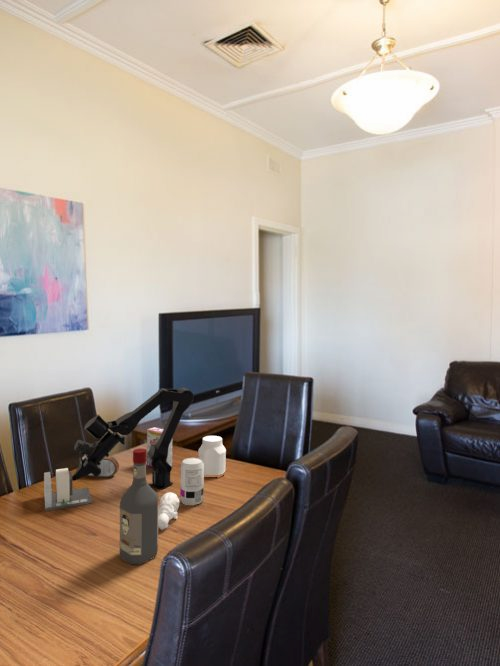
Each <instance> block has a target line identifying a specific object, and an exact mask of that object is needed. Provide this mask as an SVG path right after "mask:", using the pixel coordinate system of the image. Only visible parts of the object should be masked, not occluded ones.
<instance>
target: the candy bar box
mask: <svg viewBox="0 0 500 666" xmlns="http://www.w3.org/2000/svg"><path fill="white" fill-rule="evenodd" d="M163 429H164V428H160V427H155V426H154V427H150V428H147V429H146V450H147V453H148V452H149V450H150V446H151V444H152V445H154V446H155V445H156V443H157V442H158V441H159V439H160V436H161V434H162V432H163ZM173 438H174V437H173ZM173 438H172V440H171V442H170V445H169V447H168V457H167V462H168V463H169V464H170V466H171V467H172V468H173V449H174V448H173V446H174V445H173V443H174V442H173V440H174V439H173ZM147 457H148V454H147ZM146 467H150V468H153V467H152V466H151V464H150V463H149V461H148V459H147V461H146Z"/></svg>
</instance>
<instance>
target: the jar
mask: <svg viewBox="0 0 500 666" xmlns="http://www.w3.org/2000/svg"><path fill="white" fill-rule="evenodd" d="M197 451H198V458H199V459H201V460H202V462H203V464H204V475H220V474H223V473H224V472H225V471H226V465H227V464H226V462H227V460H226V459H227V458H226V454H227V449H226V447H225V446H224V445H223V438H222V437H221V436H219V435H218V436H217V435H206V436H204V437H202V444H201V446H200V447H199V448H198V450H197Z"/></svg>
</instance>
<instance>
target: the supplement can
mask: <svg viewBox="0 0 500 666" xmlns="http://www.w3.org/2000/svg"><path fill="white" fill-rule="evenodd" d="M204 481H205V478H204V464H203V462H202V460H201V459H199V457H188V458H184V459H183V460H182V462H181V464H180V489H179V490H180V492H179V493H180V496H179V497H180V499H179V500H180V503H183V504H186V505H195V504H199V503H203V502H202V501H204V490H205V489H204V485H205V484H204V483H205V482H204ZM183 504H182V505H183ZM186 505H185V506H186ZM199 505H200V504H199Z"/></svg>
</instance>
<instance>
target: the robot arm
mask: <svg viewBox="0 0 500 666" xmlns="http://www.w3.org/2000/svg"><path fill="white" fill-rule="evenodd" d="M194 398H195V396H194V393H193V392H192V391H191V390H189V389H187V388H186V387H180V388H178V389H177V388H164V387H163V388H159V389H158V390H157V391H156V392H155V393H154V394H153V395H151V396H150V397H149V398H148V399H146V400H145V401H144V402H142V403H141V404H140V405H139V406H138V407H136V408H135V409H134V410H132V411H130V412H127V413H125V414H123V415H121V416H119V417H118V418H117V419H116V420H112V421H105V420H104V418H102V416H101V415H99V414H97V415H95V416H94V417H93V418H91V419H89V420H88V421H87V422H86V424H85V425H84V428H83V430H85V431H86V432H87V433H88V434H90V435H91V436H92V437H93V438H95V439H99V440H98V441H94V442H93V443H90V442H88V441H85V440H81V439H77V441H76V442H75V444H74V447H73V448H74V449H73V450H74V451H75V452H76V453H79V454H81V455H83V456H82V457H81V456H79V465H78V466H77V469H76V470H75V472H74V473H73V475H72V482H73V481H74V482H76V480H79V479H82V478H83V477H86V476H88V475H89V474H91V473H92V474H93V475H94V476H96V477H95V478H99V477H98V476H99V475H100V474H101V468H100V466H99V465H100V464H101V463H100V462H101V461H102V460H103V459H104V458H105V457H106V456H107V457H108V456H110V453H111V451H112V450H113V449H114V448H115V447H116V446H117V445H118V444H119V443H120V444H122V445H123V446H124V445H125V444H126V441H125V440H126V437H125V436H128V435H131V433H132V432H133V431H134V430H135V429H136V428H137V426H138V424H140V422H141V421H142V420H143V419H144V418H145V417H146V416H148V414H150V413H151V412H153V411H154V410H155V409H156V408H157V407H158V406H160V405H161V404H163V403H164V402H165V401H172V402H173V403H172V409H171V411H170V414H169V416H168V419H166V423H165V425H164V427H163V428H162V429H163V432H162V434H161V436H160V439H159V441H158V442H157V443H156V445H155V446H154V445H152V444H151V446H150V450H149V452H148V453H147V454H148V457H147V459H148V461H149V463H150V464H151V466H152V467H151V468H153V469H152V475H151V476H152V477H151V478H152V479H151V481H152V482H151V483H150V485H149V486H150V487H151V488H152V487H153V488H157V489H158V490H159V489H160V490H164V489H166V488H168V487H170V486H172V485H173V484H174V482H173V481H171V472H172V469H173V466H172V467H171V466H170V464H169V463H168V462H167V457H168V447H169V445H170V442H171V440H172V438H174V435H175V433H176V431H177V428H178V426H179V423H180V422H181V419H182V417H183V414H184V413H185V412H186V411H187V409H189V408H190V407H191V404H192V403H193V402H194ZM94 476H93V477H94Z"/></svg>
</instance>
